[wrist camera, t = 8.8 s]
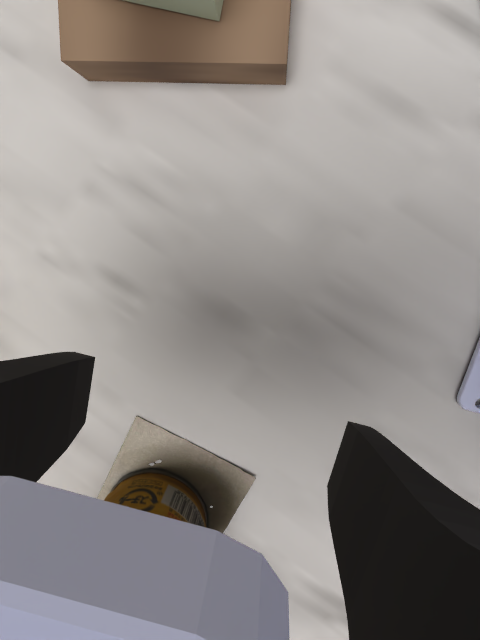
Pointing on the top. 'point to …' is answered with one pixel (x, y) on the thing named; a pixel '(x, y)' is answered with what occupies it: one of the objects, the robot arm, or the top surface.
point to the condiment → (174, 479)
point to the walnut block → (176, 42)
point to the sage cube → (187, 7)
